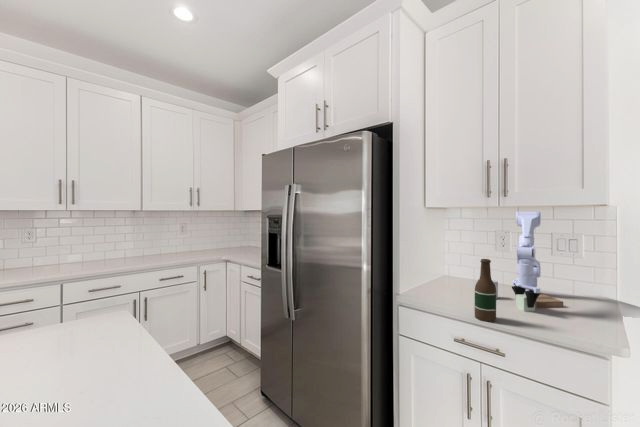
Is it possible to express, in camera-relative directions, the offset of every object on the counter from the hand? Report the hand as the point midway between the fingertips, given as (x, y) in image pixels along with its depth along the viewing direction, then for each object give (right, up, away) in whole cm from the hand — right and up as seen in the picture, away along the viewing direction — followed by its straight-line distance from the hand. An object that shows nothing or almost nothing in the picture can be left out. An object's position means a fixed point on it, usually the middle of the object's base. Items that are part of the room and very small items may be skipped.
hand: (525, 305), depth 132 cm
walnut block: (+13, -2, +8) cm, 15 cm away
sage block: (0, -2, 0) cm, 2 cm away
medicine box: (-7, -2, +18) cm, 19 cm away
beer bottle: (-24, -2, -11) cm, 26 cm away
